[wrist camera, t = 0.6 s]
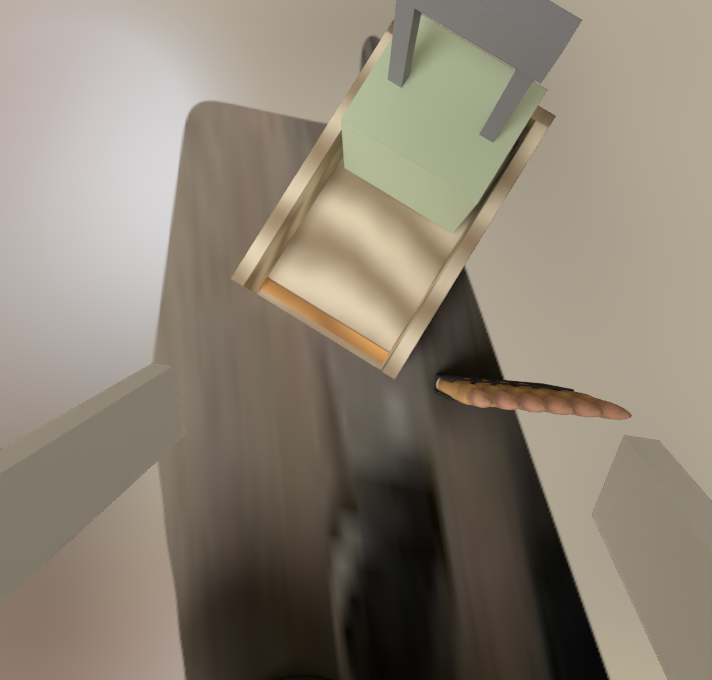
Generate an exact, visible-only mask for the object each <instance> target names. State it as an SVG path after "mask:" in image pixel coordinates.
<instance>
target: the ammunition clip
mask: <svg viewBox="0 0 712 680" xmlns="http://www.w3.org/2000/svg"><path fill="white" fill-rule="evenodd" d="M434 393H436V394H438V395H440V396H442V397H444V398H446V399H448V400H450V401H459V402H462V403H464V404H466V405H473V406H477V407H482V408H486V407H497V408H501V409H505V410H515V409H521V410H525V411H529V412H543V411H544V412H550V413H553V414H560V415H567V414H573V415H578V416H583V417H601V418H607V419H615V420H616V419H619V420H621V419H627V418H630V417H631V414H630V413H629V412H628V411H627V410H625V409H624V408H622V407H620V406H618V405H616V404H613V403H610V402H607V401H603V400H600V399H597V398H594V397H592V396H590V395H587V394H583V393H578V392H574V390H573V389H568V388H563V387H558V386H552V385H548V384H541V383H530V382H519V381H508V380H497V379H486V378H475V377H464V376H453V375H441V374H436V375H435V384H434Z"/></svg>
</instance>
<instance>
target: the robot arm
mask: <svg viewBox="0 0 712 680" xmlns="http://www.w3.org/2000/svg"><path fill="white" fill-rule="evenodd" d="M184 436H185V430H184V425H183V420H182V415H181V409H180V404H179V399H178V394H177V389H176V384H175V379H174V374H173V369H172V366H166V365H160V364H153V363H152V364H150V365H148V366H146V367H145V368H143V369H141V370H140V371H138V372H136V373H134V374H133V375H131V376H129V377H127V378H126V379H124V380H122V381H120V382H119V383H117V384H115V385H113V386H112V387H110V388H108V389H106V390H105V391H103V392H101V393H99V394H98V395H96V396H94V397H92V398H91V399H89V400H87V401H85V402H84V403H82V404H80V405H78V406H77V407H75V408H73V409H71V410H70V411H68V412H66V413H64V414H63V415H61V416H59V417H57V418H56V419H54V420H52V421H50V422H49V423H47V424H45V425H43V426H42V427H40V428H38V429H36V430H35V431H33V432H31V433H29V434H28V435H26V436H24V437H22V438H21V439H19V440H17V441H15V442H14V443H12V444H10V445H8V446H7V447H5V448H3V449H0V606H1V605H2V604H3V603H4V602H5V601H6V600H7V599H8V598H9V597H10V596H11V595H12V594H13V593H15V592H16V591H17V590H18V589H19V588H20V587H21V586H22V585H23V584H24V583H25V582H27V580H29V579H30V578H31V577H32V576H33V575H34V574H35V573H36V572H37V571H38V570H40V569H41V568H42V567H43V566H44V565H45V564H46V563H47V562H48V561H49V560H50V559H52V558H53V557H54V556H55V555H56V554H57V553H58V552H59V551H60V550H61V549H62V548H63V547H64V546H66V545H67V544H68V543H69V542H70V541H71V540H72V539H73V538H74V537H75V536H76V535H77V534H79V533H80V532H81V531H82V530H83V529H84V528H85V527H86V526H87V525H88V524H89V523H90V522H92V521H93V520H94V519H95V518H96V517H97V516H98V515H99V514H100V513H101V512H103V511H104V509H106V508H107V507H108V506H109V505H110V504H111V503H112V502H113V501H114V500H116V499H117V498H118V497H119V496H120V495H121V494H122V493H123V492H124V491H125V490H126V489H127V488H129V487H130V486H131V485H132V484H133V483H134V482H135V481H136V480H137V479H138V478H139V477H140V476H141V475H143V474H144V473H145V472H146V471H147V470H148V469H149V468H150V467H151V466H152V465H154V464H155V463H156V462H157V461H158V460H159V459H160V458H161V457H162V456H163V455H164V454H165V453H167V452H168V451H169V450H170V449H171V448H172V447H173V446H174V445H175V444H176V443H177V442H178V441H180V440H181V439H182V438H183V437H184ZM592 516H593V518H594V520H595V523H596V525H597V527H598V529H599V531H600V533H601V536H602V538H603V540H604V542H605V544H606V546H607V549H608V551H609V553H610V555H611V557H612V560H613V562H614V564H615V566H616V568H617V570H618V573H619V575H620V577H621V579H622V581H623V583H624V586H625V588H626V590H627V592H628V594H629V596H630V599H631V601H632V603H633V605H634V607H635V609H636V612H637V613H638V616H639V618H640V620H641V623H642V625H643V627H644V629H645V631H646V633H647V636H648V638H649V640H650V642H651V644H652V646H653V649H654V651H655V653H656V655H657V657H658V660H659V662H660V664H661V666H662V668H663V670H664V673H665V675H666V677H667V679H668V680H712V501H711V500H710V498H709V497H708V496H707V495H706V494H705V493H704V492H703V490H702V489H701V488H700V487H699V486H698V485H697V484H696V482H695V481H694V480H693V479H692V478H691V477H690V475H689V474H688V473H687V472H686V471H685V470H684V469H683V468H682V466H681V465H680V464H679V463H678V462H677V461H676V460H675V458H674V457H673V456H672V455H671V454H670V453H669V451H668V450H667V449H666V448H665V447H664V446H663V445H662V444H661V442H660V441H659V440H652V439H646V438H639V437H632V436H626V435H624V437H623V439H622V441H621V444H620V446H619V449H618V451H617V454H616V456H615V459H614V461H613V464H612V466H611V469H610V471H609V474H608V476H607V478H606V481H605V483H604V486H603V488H602V491H601V494H600V496H599V498H598V501H597V503H596V506H595V508H594V511H593V513H592ZM282 680H325V679H322V678H317V677H308V676H300V677H291V678H286V679H282Z"/></svg>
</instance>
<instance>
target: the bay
mask: <svg viewBox="0 0 712 680" xmlns="http://www.w3.org/2000/svg"><path fill="white" fill-rule="evenodd" d="M393 28H394V20H393V22H392V23H391V25H390V26H389V28H388V30H387V31H386V33H385V34H384V36H383V37H382V39H381V41H380V42H379V44H378V45H377V47H376V49H375V50H374V52H373V53H372V55H371V57H370V58H369V60H368V61H367V63H366V64H365V66H364V68H363V69H362V71H361V72H360V74H359V76H358V77H357V79H356V80H355V82H354V84H353V85H352V87H351V88H350V90H349V92H348V93H347V95H346V96H345V98H344V99H343V101H342V103H341V104H340V106H339V107H338V109H337V111H336V112H335V114H334V115H333V117H332V119H331V120H330V122H329V123H328V125H327V127H326V128H325V130H324V131H323V133H322V135H321V136H320V138H319V139H318V141H317V142H316V144H315V146H314V147H313V149H312V150H311V152H310V154H309V155H308V157H307V158H306V160H305V162H304V163H303V165H302V166H301V168H300V170H299V171H298V173H297V174H296V176H295V178H294V179H293V181H292V182H291V184H290V185H289V187H288V189H287V190H286V192H285V193H284V195H283V197H282V198H281V200H280V201H279V203H278V205H277V206H276V208H275V209H274V211H273V213H272V214H271V216H270V217H269V219H268V221H267V222H266V224H265V225H264V227H263V228H262V230H261V232H260V233H259V235H258V236H257V238H256V240H255V241H254V243H253V244H252V246H251V248H250V249H249V251H248V252H247V254H246V256H245V257H244V259H243V260H242V262H241V263H240V265H239V267H238V268H237V270H236V271H235V273H234V275H233V276H232V278H231V279H233V280H234V281H236V282H237V283H239V284H241V285H242V286H244V287H246V288H248V289H249V290H251V291H253V292H255V293H257V294H258V295H260V296H262V297H263V298H265V299H266V300H268V301H270V302H271V303H273V304H274V305H276V306H278V307H279V308H281V309H283V310H284V311H286V312H287V313H289V314H291V315H292V316H294V317H296V318H297V319H299V320H300V321H302V322H304V323H305V324H307V325H309V326H310V327H312V328H313V329H315V330H317V331H318V332H320V333H322V334H323V335H325V336H326V337H328V338H330V339H331V340H333V341H334V342H336V343H338V344H339V345H341V346H343V347H344V348H346V349H347V350H349V351H351V352H352V353H354V354H356V355H357V356H359V357H360V358H362V359H364V360H365V361H367V362H369V363H370V364H372V365H373V366H375V367H377V368H378V369H380V370H381V371H382V372H383V373H385V374H387V375H388V376H390V377H391V378H393V379H395V378H396V376H397V375H398V373H399V371H400V370H401V368H402V367H403V365H404V363H405V362H406V360H407V358H408V357H409V355H410V353H411V352H412V350H413V349H414V347H415V345H416V344H417V342H418V340H419V339H420V337H421V335H422V334H423V332H424V331H425V329H426V327H427V326H428V324H429V322H430V321H431V319H432V318H433V316H434V314H435V313H436V311H437V309H438V308H439V306H440V304H441V303H442V301H443V300H444V298H445V296H446V295H447V293H448V291H449V290H450V288H451V286H452V285H453V283H454V282H455V280H456V278H457V277H458V275H459V273H460V272H461V270H462V268H463V267H464V265H465V264H466V262H467V260H468V259H469V257H470V255H471V254H472V252H473V250H474V249H475V247H476V246H477V244H478V242H479V241H480V239H481V237H482V236H483V234H484V233H485V231H486V229H487V228H488V226H489V224H490V222H491V221H492V219H493V218H494V216H495V215H496V213H497V211H498V210H499V208H500V206H501V205H502V203H503V201H504V200H505V198H506V197H507V195H508V193H509V192H510V190H511V188H512V187H513V185H514V183H515V182H516V180H517V179H518V177H519V175H520V174H521V172H522V170H523V169H524V167H525V165H526V164H527V162H528V160H529V159H530V157H531V156H532V154H533V152H534V151H535V149H536V148H537V146H538V144H539V143H540V141H541V139H542V138H543V136H544V134H545V133H546V131H547V130H548V128H549V126H550V124H551V123H552V121H553V120H554V118H555V117H556V116H554V115H553V114H551V113H550V112H548V111H546V110H545V109H543V108H541V107H540V106H537V108H536V109H535V111H534V113H533V114H532V116H531V118H530V119H529V121H528V122H527V124H526V126H525V127H524V129H523V131H522V132H521V134H520V135H519V137H518V139H517V140H516V142H515V144H514V145H513V147H512V148H511V150H510V152H509V153H508V155H507V157H506V158H505V160H504V162H503V163H502V165H501V166H500V168H499V170H498V171H497V173H496V175H495V176H494V178H493V179H492V181H491V183H490V184H489V186H488V188H487V189H486V191H485V192H484V194H483V196H482V197H481V199H480V201H479V202H478V203H477V205H476V206H475V207H474V208H473V210H472V211H471V212H470V213H469V214H468V216H467V217H466V218H465V219H464V220H463V222H462V223H461V224H460V225H459V226H458V228H457V229H456V230H455V231H454V233H453V234H452V233H451V232H449V231H447V230H446V229H444V228H443V227H441V226H439V225H438V224H436V223H434V222H433V221H431V220H429V219H428V218H426V217H424V216H423V215H421V214H419V213H418V212H416V211H414V210H413V209H411V208H410V207H408V206H406V205H405V204H403V203H401V202H400V201H398V200H396V199H395V198H393V197H391V196H390V195H388V194H386V193H385V192H383V191H382V190H380V189H378V188H377V187H375V186H373V185H372V184H370V183H368V182H367V181H365V180H363V179H362V178H360V177H358V176H357V175H355V174H353V173H352V172H350V171H349V170H347V169H345V168H344V156H343V142H342V128H341V118H342V117H343V115H344V113H345V112H346V110H347V109H348V107H349V105H350V104H351V102H352V101H353V99H354V98H355V96H356V94H357V93H358V91H359V90H360V88H361V86H362V85H363V83H364V82H365V80H366V78H367V77H368V75H369V74H370V72H371V70H372V69H373V67H374V66H375V64H376V62H377V61H378V59H379V58H380V56H381V54H382V53H383V51H384V50H385V48H386V47H387V45H388V43H389V42H390V40H391V39H392V37H393Z"/></svg>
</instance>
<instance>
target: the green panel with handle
mask: <svg viewBox="0 0 712 680" xmlns="http://www.w3.org/2000/svg"><path fill="white" fill-rule="evenodd" d="M421 13H423V14H425V15H426V16H428V17H430V18H431V19H433V20H435V21H437V22H438V23H440V24H442V25H443V26H445V27H447V28H448V29H450V30H452V31H453V32H455V33H457V34H458V35H460V36H462V37H464V38H465V39H467V40H468V41H470V42H472V43H473V44H475V45H477V46H479V47H480V48H482V49H484V50H485V51H487V52H489V53H490V54H492V55H494V56H495V57H497V58H499V59H500V60H502V61H504V62H505V63H507V64H509V65H510V66H512V67H514V68H515V69H516V70H514V69H512V68H510V67H509V66H507V65H505V64H503V63H502V62H500V61H499V60H497V59H495V58H494V57H492V56H490V55H489V54H487V53H485V52H483V51H482V50H480V49H478V48H477V47H475V46H473V45H472V44H470V43H468V42H467V41H465V40H463V39H462V38H460V37H458V36H457V35H455V34H453V33H452V32H450V31H448V30H447V29H445V28H443V27H441V26H440V25H438V24H437V23H435V22H433V21H431V20H429V19H428V18H426V17H425V16H423V15H421ZM581 21H582V19H580V18H578V17H576V16H575V15H573V14H571V13H569V12H568V11H566V10H565V9H563V8H561V7H559V6H558V5H556V4H554V3H553V2H551V1H549V0H397V2H396V10H395V19H394V28H393V37H392V39H391V40H390V42H389V43H388V45H387V47H386V48H385V50H384V51H383V53H382V54H381V56H380V58H379V59H378V61H377V62H376V64H375V66H374V67H373V69H372V70H371V72H370V74H369V75H368V77H367V78H366V80H365V82H364V83H363V85H362V86H361V88H360V90H359V91H358V93H357V94H356V96H355V98H354V99H353V101H352V102H351V104H350V105H349V107H348V109H347V110H346V112H345V113H344V115H343V117H342V118H341V128H342V142H343V156H344V168H345V169H347V170H349V171H350V172H352V173H353V174H355V175H357V176H358V177H360V178H362V179H363V180H365V181H367V182H368V183H370V184H372V185H373V186H375V187H377V188H378V189H380V190H382V191H383V192H385V193H386V194H388V195H390V196H391V197H393V198H395V199H396V200H398V201H400V202H401V203H403V204H405V205H406V206H408V207H410V208H411V209H413V210H414V211H416V212H418V213H419V214H421V215H423V216H424V217H426V218H428V219H429V220H431V221H433V222H434V223H436V224H438V225H439V226H441V227H443V228H444V229H446V230H447V231H449V232H451V233H452V234H453V233H454V231H455V230H456V229H457V228H458V226H459V225H460V224H461V223H462V222H463V220H464V219H465V218H466V217H467V216H468V214H469V213H470V212H471V211H472V210H473V208H474V207H475V206H476V205H477V203H478V202H479V201H480V199H481V197H482V196H483V194H484V192H485V191H486V189H487V188H488V186H489V184H490V183H491V181H492V179H493V178H494V176H495V175H496V173H497V171H498V170H499V168H500V166H501V165H502V163H503V162H504V160H505V158H506V157H507V155H508V153H509V152H510V150H511V148H512V147H513V145H514V144H515V142H516V140H517V139H518V137H519V135H520V134H521V132H522V131H523V129H524V127H525V126H526V124H527V122H528V121H529V119H530V118H531V116H532V114H533V113H534V111H535V109H536V108H537V106H538V104H539V103H540V101H541V99H542V98H543V96H544V95H545V93H546V91H547V89H546V88H544V87H542V86H541V85H539V84H537V83H536V82H534V80H536V81H538V82H539V83H541V82H542V81H543V79H544V78H545V77H546V75H547V74H548V72H549V71H550V69H551V68H552V66H553V65H554V63H555V62H556V61H557V59H558V58H559V56H560V55H561V53H562V52H563V50H564V49H565V47H566V45H567V44H568V42H569V40H570V39H571V37H572V35H573V34H574V32H575V31H576V29H577V27H578V26H579V24H580V22H581Z"/></svg>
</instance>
